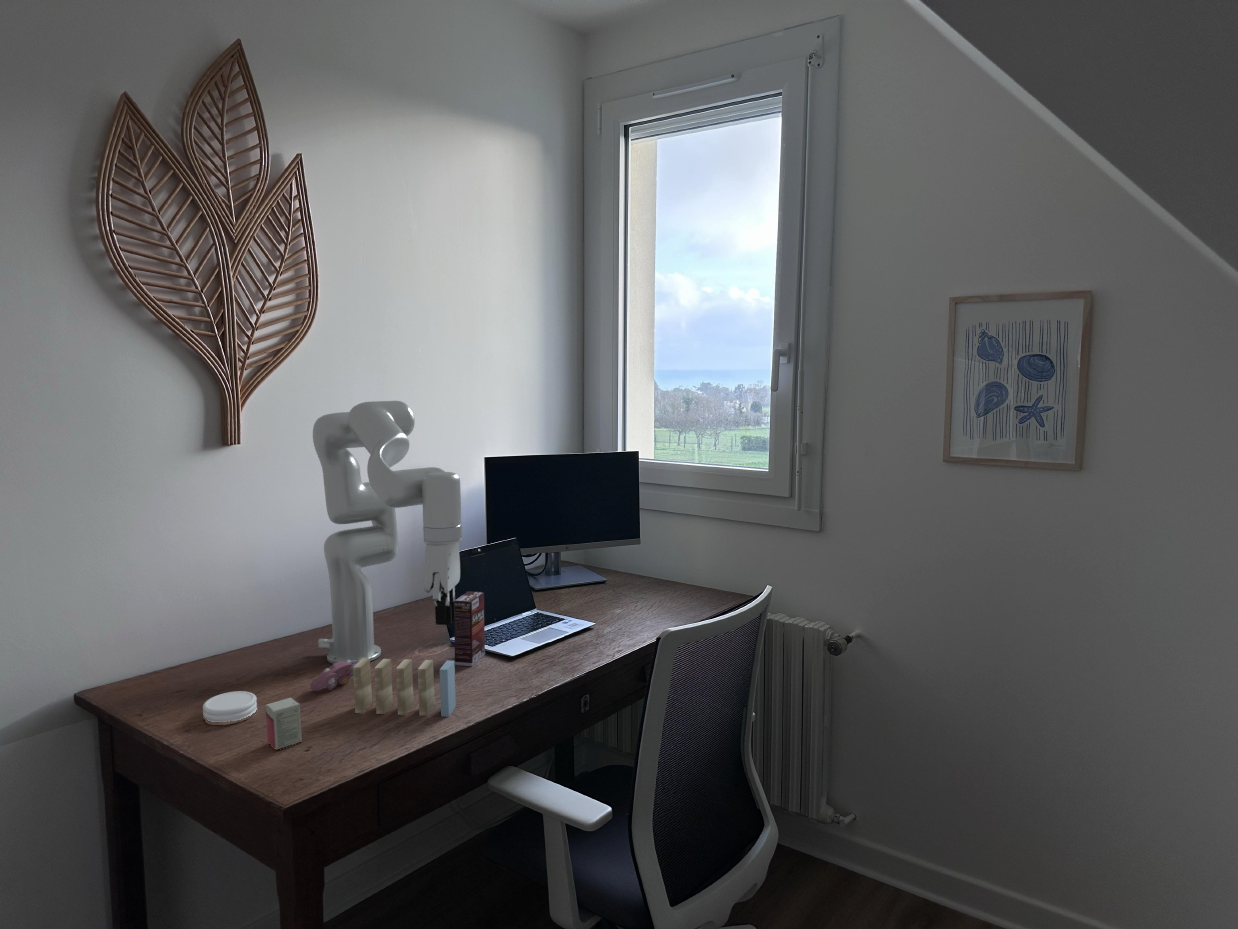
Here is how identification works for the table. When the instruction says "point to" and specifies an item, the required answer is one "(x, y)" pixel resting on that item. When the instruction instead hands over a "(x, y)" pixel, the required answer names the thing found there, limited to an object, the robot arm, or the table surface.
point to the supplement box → (469, 628)
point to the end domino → (447, 688)
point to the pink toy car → (334, 676)
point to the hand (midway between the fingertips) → (445, 621)
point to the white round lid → (230, 706)
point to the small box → (283, 723)
